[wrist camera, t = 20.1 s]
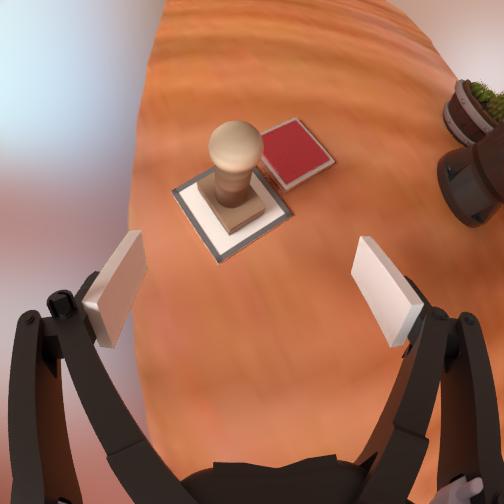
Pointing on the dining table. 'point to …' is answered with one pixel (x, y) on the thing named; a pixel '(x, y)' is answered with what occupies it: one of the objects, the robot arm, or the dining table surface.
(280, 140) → the ink pad
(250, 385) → the dining table surface
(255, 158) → the stamp
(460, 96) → the flowerpot
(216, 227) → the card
